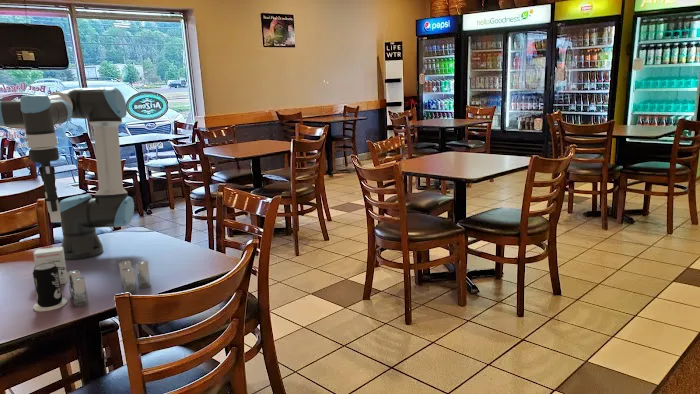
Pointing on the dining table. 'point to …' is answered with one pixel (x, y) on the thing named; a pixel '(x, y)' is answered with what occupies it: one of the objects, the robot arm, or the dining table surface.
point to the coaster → (42, 309)
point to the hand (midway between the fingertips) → (54, 216)
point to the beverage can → (47, 284)
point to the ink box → (52, 260)
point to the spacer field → (127, 280)
